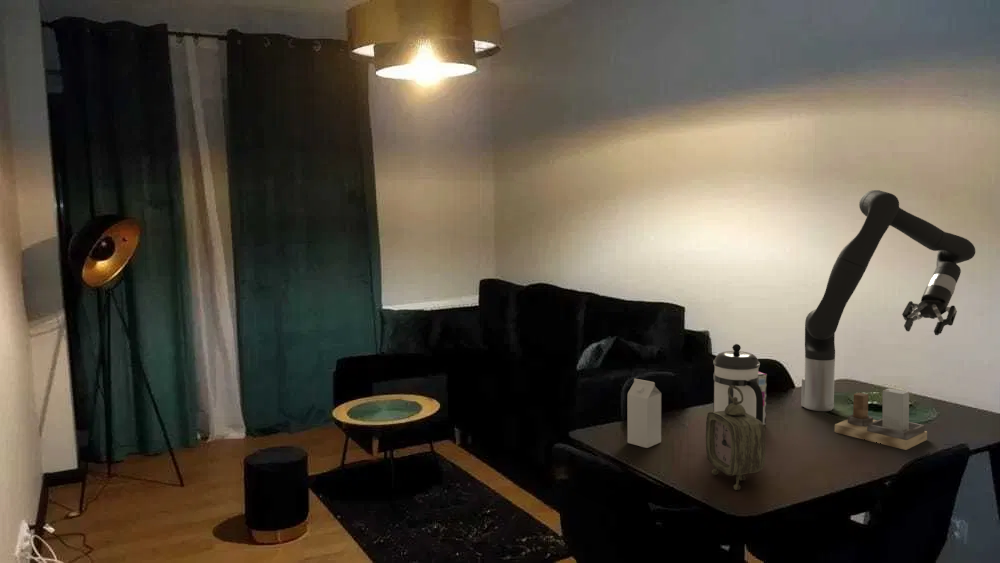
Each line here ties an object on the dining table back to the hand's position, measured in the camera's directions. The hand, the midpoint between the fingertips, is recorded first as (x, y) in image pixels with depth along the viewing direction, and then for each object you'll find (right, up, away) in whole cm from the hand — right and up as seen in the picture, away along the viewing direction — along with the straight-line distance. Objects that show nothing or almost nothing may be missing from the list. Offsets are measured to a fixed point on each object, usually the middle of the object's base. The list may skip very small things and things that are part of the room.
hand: (921, 331), depth 234 cm
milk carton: (-88, -32, -10) cm, 94 cm away
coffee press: (-61, -32, -15) cm, 71 cm away
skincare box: (-15, -28, -13) cm, 34 cm away
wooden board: (-17, -30, -9) cm, 36 cm away
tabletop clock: (-70, -36, -41) cm, 89 cm away
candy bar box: (-50, -29, +8) cm, 59 cm away
